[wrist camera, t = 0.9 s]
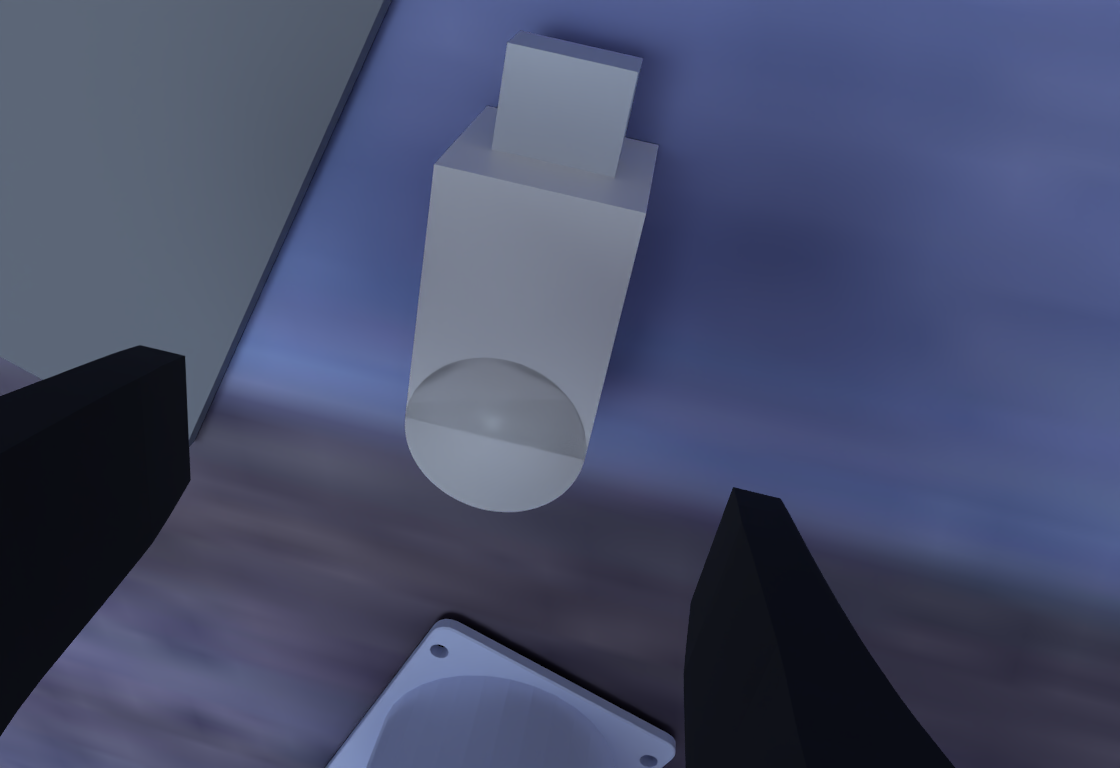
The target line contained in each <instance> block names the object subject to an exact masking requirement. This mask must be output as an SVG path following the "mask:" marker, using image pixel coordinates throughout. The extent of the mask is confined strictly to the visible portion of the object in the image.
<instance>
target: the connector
mask: <svg viewBox="0 0 1120 768" xmlns="http://www.w3.org/2000/svg"><path fill="white" fill-rule="evenodd" d="M642 61H643V58H640V57H636V56H631V55H627V54H622V53H618V52H613V51H609V50H605V49H600V48H596V47H591V46H587V45H583V44H578V43H574V42H569V41H565V40H561V39H556V38H552V37H547V36H543V35H538V34H534V33H530V32H525V31H519V32H518V33H517V34H516V35H515V36H514V37H513V38H512V39H511V40H509V41H508V42H507V48H506V55H505V62H504V68H503V75H502V82H501V89H500V95H499V102H498V108H495V107H490V106H486V108H485V109H484V110H483V111H482V112H481V113H480V114H479V115H478V116H477V117H476V119H475V120H474V121H473V122H472V123H471V124H470V125H469V126H468V127H467V129H466V130H465V131H464V132H463V133H462V134H461V135H460V136H459V137H458V138H457V140H456V141H455V142H454V143H453V144H452V145H451V146H450V147H449V148H448V150H447V151H446V152H445V153H444V154H443V155H442V156H441V157H440V158H439V159H438V161H437V162H436V163H435V164H434V170H433V179H432V188H431V197H430V205H429V214H428V223H427V231H426V240H425V249H424V258H423V266H422V275H421V284H420V292H419V301H418V310H417V319H416V327H415V336H414V345H413V353H412V362H411V371H410V380H409V388H408V397H407V406H406V414H405V433H406V439H407V443H408V447H409V449H410V452H411V454H412V456H413V458H414V460H415V462H416V463H417V465H418V467H419V468H420V469H421V471H422V472H423V473H424V475H425V476H426V477H427V478H428V479H429V480H430V481H431V482H432V483H433V484H434V485H436V486H437V487H438V488H439V489H440V490H442V491H443V492H445V493H446V494H448V495H449V496H451V497H453V498H455V499H456V500H458V501H460V502H463V503H465V504H467V505H470V506H473V507H476V508H480V509H484V510H489V511H496V512H519V511H526V510H530V509H534V508H538V507H540V506H543V505H545V504H548V503H549V502H551V501H553V500H555V499H557V498H558V497H559V496H561V495H562V494H563V493H564V492H565V491H566V490H567V489H569V488H570V487H571V485H572V484H573V483H574V481H575V480H576V479H577V477H578V475H579V473H580V471H581V469H582V466H583V463H584V460H585V456H586V452H587V448H588V444H589V440H590V436H591V432H592V428H593V424H594V420H595V416H596V412H597V408H598V404H599V400H600V396H601V392H602V388H603V384H604V380H605V376H606V372H607V368H608V364H609V360H610V356H611V352H612V348H613V344H614V340H615V336H616V332H617V328H618V324H619V320H620V316H621V312H622V308H623V304H624V300H625V296H626V292H627V288H628V284H629V280H630V276H631V272H632V268H633V264H634V260H635V256H636V252H637V248H638V244H639V240H640V236H641V232H642V228H643V224H644V220H645V216H646V212H647V206H648V201H649V195H650V190H651V184H652V179H653V173H654V168H655V162H656V157H657V151H658V146H659V145H656V144H652V143H647V142H643V141H639V140H634V139H630V138H626V137H625V136H626V132H627V127H628V123H629V118H630V114H631V110H632V105H633V101H634V96H635V92H636V88H637V83H638V79H639V74H640V70H641V65H642Z"/></svg>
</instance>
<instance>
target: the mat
mask: <svg viewBox="0 0 1120 768" xmlns="http://www.w3.org/2000/svg"><path fill="white" fill-rule="evenodd" d="M391 1H392V0H0V357H1V358H3V359H5V360H7V361H9V362H11V363H13V364H14V365H16V366H18V367H20V368H22V369H24V370H26V371H28V372H29V373H31V374H33V375H35V376H37V377H39V378H41V379H42V380H44V379H47V378H50V377H52V376H55V375H57V374H60V373H62V372H65V371H68V370H70V369H73V368H75V367H78V366H81V365H83V364H86V363H89V362H91V361H94V360H97V359H99V358H102V357H105V356H108V355H110V354H113V353H116V352H119V351H122V350H125V349H128V348H132V347H135V346H138V345H142V346H146V347H150V348H155V349H159V350H163V351H167V352H171V353H175V354H180V355H184V356H185V362H186V386H187V410H188V433H189V447H190V446H191V444H192V443H193V442H194V441H195V438H196V436H197V434H198V432H199V429H200V427H201V425H202V423H203V421H204V418H205V416H206V414H207V412H208V409H209V407H210V405H211V403H212V400H213V398H214V396H215V394H216V391H217V389H218V387H219V385H220V383H221V380H222V378H223V376H224V374H225V371H226V369H227V367H228V365H229V362H230V360H231V358H232V356H233V354H234V351H235V349H236V347H237V345H238V342H239V340H240V338H241V336H242V333H243V331H244V329H245V327H246V324H247V322H248V320H249V318H250V316H251V313H252V311H253V309H254V307H255V304H256V302H257V300H258V298H259V295H260V293H261V291H262V289H263V287H264V284H265V282H266V280H267V278H268V275H269V273H270V271H271V269H272V266H273V264H274V262H275V260H276V257H277V255H278V253H279V251H280V249H281V246H282V244H283V242H284V240H285V237H286V235H287V233H288V231H289V228H290V226H291V224H292V222H293V220H294V217H295V215H296V213H297V211H298V208H299V206H300V204H301V202H302V199H303V197H304V195H305V193H306V190H307V188H308V186H309V184H310V182H311V179H312V177H313V175H314V173H315V170H316V168H317V166H318V164H319V161H320V159H321V157H322V155H323V153H324V150H325V148H326V146H327V144H328V141H329V139H330V137H331V135H332V132H333V130H334V128H335V126H336V123H337V121H338V119H339V117H340V115H341V112H342V110H343V108H344V106H345V103H346V101H347V99H348V97H349V94H350V92H351V90H352V88H353V86H354V83H355V81H356V79H357V77H358V74H359V72H360V70H361V68H362V65H363V63H364V61H365V59H366V56H367V54H368V52H369V50H370V48H371V45H372V43H373V41H374V39H375V36H376V34H377V32H378V30H379V27H380V25H381V23H382V21H383V19H384V16H385V14H386V12H387V10H388V7H389V5H390V3H391Z"/></svg>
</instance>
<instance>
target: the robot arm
mask: <svg viewBox="0 0 1120 768" xmlns="http://www.w3.org/2000/svg"><path fill="white" fill-rule="evenodd" d="M189 482H190V457H189V433H188V410H187V386H186V362H185V356H184V355H180V354H175V353H171V352H167V351H163V350H159V349H155V348H150V347H146V346H142V345H138V346H135V347H132V348H128V349H125V350H122V351H119V352H116V353H113V354H110V355H108V356H105V357H102V358H99V359H97V360H94V361H91V362H89V363H86V364H83V365H81V366H78V367H75V368H73V369H70V370H68V371H65V372H62V373H60V374H57V375H55V376H52V377H50V378H47V379H44V380H42V381H39V382H36V383H34V384H31V385H29V386H26V387H23V388H21V389H18V390H15V391H13V392H10V393H8V394H5V395H2V396H0V736H1V735H2V733H3V732H4V730H5V729H6V727H7V726H8V724H9V723H10V721H11V720H12V718H13V717H14V715H15V714H16V712H17V711H18V709H19V708H20V707H21V705H22V704H23V703H24V701H25V700H26V699H27V697H28V696H29V695H30V694H31V692H32V691H33V690H34V688H35V687H36V686H37V684H38V683H39V682H40V680H41V679H42V678H43V677H44V675H45V674H46V673H47V672H48V670H49V669H50V668H51V667H52V666H53V664H54V663H55V662H56V661H57V660H58V658H59V657H60V656H61V655H62V653H63V652H64V651H65V650H66V649H67V647H68V646H69V645H70V644H71V643H72V641H73V640H74V639H75V638H76V636H77V635H78V634H79V633H80V632H81V630H82V629H83V628H84V627H85V626H86V624H87V623H88V622H89V621H90V619H91V618H92V617H93V616H94V615H95V613H96V612H97V611H98V610H99V609H100V607H101V606H102V605H103V604H104V603H105V601H106V600H107V599H108V598H109V596H110V595H111V594H112V593H113V592H114V590H115V589H116V588H117V587H118V585H119V584H120V583H121V582H122V580H123V579H124V578H125V577H126V576H127V574H128V573H129V572H130V571H131V569H132V568H133V567H134V566H135V564H136V563H137V562H138V561H139V559H140V558H141V557H142V556H143V554H144V553H145V552H146V551H147V549H148V548H149V547H150V545H151V544H152V543H153V541H154V540H155V538H156V537H157V535H158V533H159V532H160V530H161V529H162V527H163V526H164V524H165V522H166V521H167V519H168V518H169V516H170V514H171V513H172V511H173V509H174V508H175V506H176V504H177V502H178V501H179V499H180V497H181V496H182V494H183V492H184V490H185V489H186V487H187V485H188V484H189ZM437 644H439V645H442V646H444V647H441V646H438V645H437ZM684 715H685V757H686V768H955V767H954V766H953V765H952V763H951V762H950V761H949V760H948V758H947V757H946V756H945V755H944V753H943V752H942V751H941V750H940V748H939V747H938V746H937V745H936V743H935V742H934V741H933V740H932V738H931V737H930V736H929V735H928V733H927V732H926V731H925V730H924V728H923V727H922V726H921V725H920V723H919V722H918V721H917V720H916V718H915V717H914V715H913V714H912V713H911V711H910V710H909V709H908V707H907V706H906V705H905V703H904V702H903V701H902V699H901V698H900V697H899V695H898V694H897V692H896V691H895V690H894V688H893V687H892V685H891V684H890V682H889V681H888V679H887V678H886V676H885V675H884V674H883V672H882V671H881V669H880V668H879V666H878V665H877V663H876V662H875V660H874V659H873V658H872V656H871V655H870V653H869V652H868V650H867V648H866V647H865V645H864V644H863V642H862V641H861V639H860V638H859V636H858V634H857V633H856V631H855V629H854V628H853V626H852V624H851V623H850V621H849V619H848V618H847V616H846V614H845V613H844V611H843V609H842V608H841V606H840V604H839V603H838V601H837V599H836V598H835V596H834V594H833V593H832V591H831V589H830V587H829V586H828V584H827V582H826V580H825V579H824V577H823V575H822V573H821V571H820V570H819V568H818V566H817V564H816V562H815V561H814V559H813V557H812V555H811V553H810V552H809V550H808V548H807V546H806V544H805V542H804V540H803V539H802V537H801V535H800V533H799V531H798V529H797V527H796V525H795V524H794V522H793V520H792V518H791V516H790V514H789V513H788V511H787V509H786V507H785V505H784V504H783V502H782V500H781V499H780V498H776V497H772V496H767V495H763V494H759V493H755V492H751V491H747V490H742V489H738V488H734V487H733V489H732V492H731V495H730V497H729V500H728V503H727V505H726V508H725V511H724V514H723V516H722V519H721V522H720V524H719V527H718V530H717V533H716V535H715V538H714V541H713V544H712V546H711V549H710V552H709V554H708V557H707V560H706V563H705V565H704V568H703V571H702V573H701V576H700V579H699V582H698V584H697V587H696V590H695V592H694V595H693V598H692V601H691V606H690V615H689V625H688V634H687V644H686V655H685V666H684ZM675 748H676V741H675V740H674V738H673V737H672V736H671V735H670V734H668V733H666V732H665V731H663V730H661V729H659V728H657V727H655V726H653V725H651V724H650V723H648V722H646V721H644V720H642V719H640V718H638V717H636V716H634V715H633V714H631V713H629V712H627V711H625V710H623V709H621V708H619V707H618V706H616V705H614V704H612V703H610V702H608V701H606V700H604V699H603V698H601V697H599V696H597V695H595V694H593V693H591V692H589V691H588V690H586V689H584V688H582V687H580V686H578V685H576V684H574V683H573V682H571V681H569V680H567V679H565V678H563V677H561V676H559V675H558V674H556V673H554V672H552V671H550V670H548V669H546V668H544V667H543V666H541V665H539V664H537V663H535V662H533V661H531V660H529V659H528V658H526V657H524V656H522V655H520V654H518V653H516V652H514V651H512V650H511V649H509V648H507V647H505V646H503V645H501V644H499V643H497V642H496V641H494V640H492V639H490V638H488V637H486V636H484V635H482V634H481V633H479V632H477V631H475V630H473V629H471V628H469V627H467V626H466V625H464V624H462V623H460V622H458V621H455V620H453V619H442V620H439V621H438V622H436V623H435V624H434V625H433V627H432V628H431V629H430V631H429V632H428V633H427V635H426V636H425V637H424V639H423V640H422V641H421V642H420V644H419V645H418V646H417V648H416V649H415V650H414V652H413V653H412V654H411V656H410V657H409V658H408V660H407V661H406V662H405V663H404V665H403V666H402V667H401V669H400V670H399V671H398V673H397V674H396V675H395V677H394V678H393V679H392V681H391V682H390V683H389V684H388V686H387V687H386V688H385V690H384V691H383V692H382V694H381V695H380V696H379V698H378V699H377V700H376V702H375V703H374V704H373V705H372V707H371V708H370V709H369V711H368V712H367V713H366V715H365V716H364V717H363V719H362V720H361V721H360V723H359V724H358V725H357V726H356V728H355V729H354V730H353V732H352V733H351V734H350V736H349V737H348V738H347V740H346V741H345V742H344V744H343V745H342V746H341V747H340V749H339V750H338V751H337V753H336V754H335V755H334V757H333V758H332V759H331V761H330V762H329V763H328V765H327V766H326V767H325V768H662V767H664V766H665V765H666V764H667V763H668V762H669V761H670V760H672V759H673V757H674V756H675Z"/></svg>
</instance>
